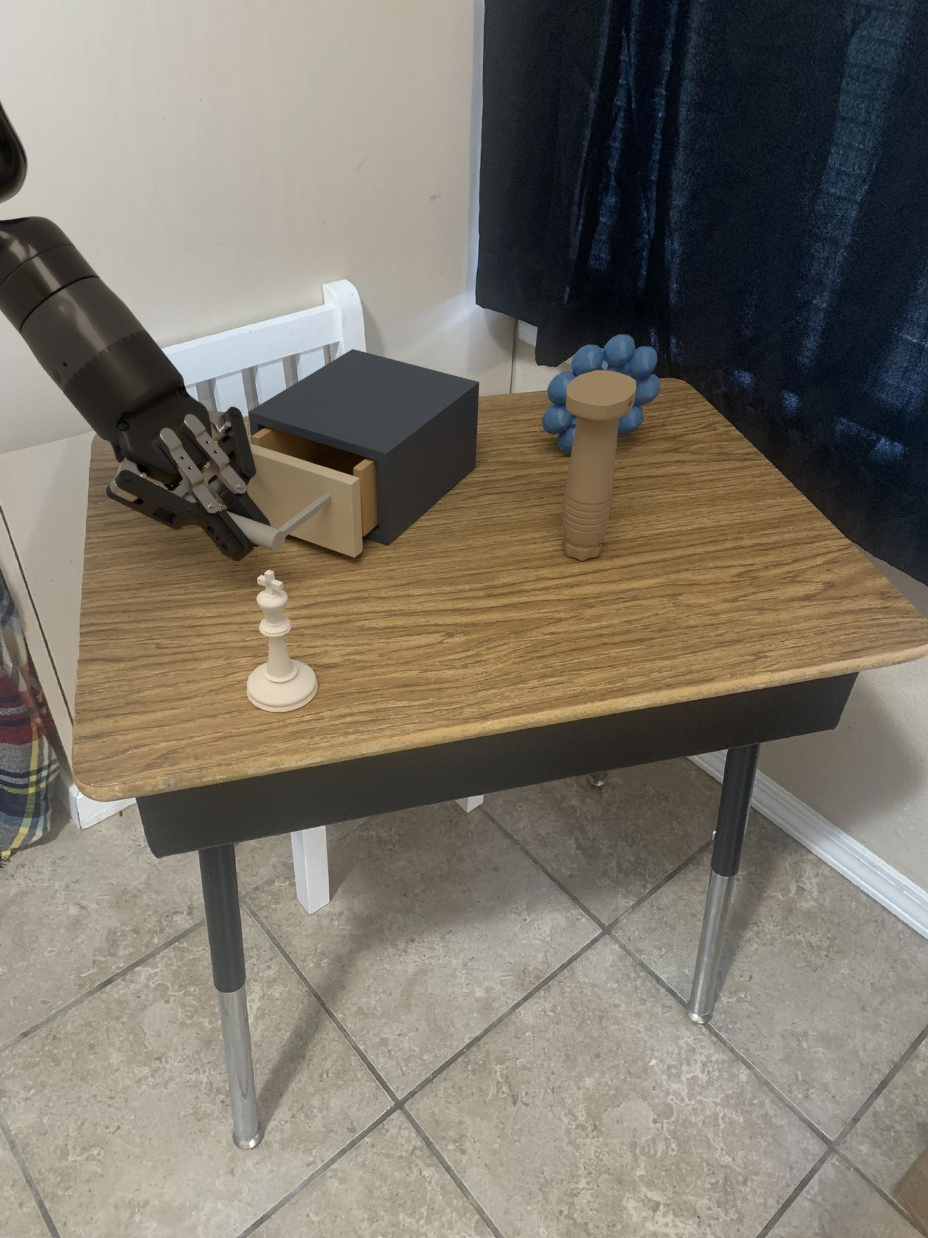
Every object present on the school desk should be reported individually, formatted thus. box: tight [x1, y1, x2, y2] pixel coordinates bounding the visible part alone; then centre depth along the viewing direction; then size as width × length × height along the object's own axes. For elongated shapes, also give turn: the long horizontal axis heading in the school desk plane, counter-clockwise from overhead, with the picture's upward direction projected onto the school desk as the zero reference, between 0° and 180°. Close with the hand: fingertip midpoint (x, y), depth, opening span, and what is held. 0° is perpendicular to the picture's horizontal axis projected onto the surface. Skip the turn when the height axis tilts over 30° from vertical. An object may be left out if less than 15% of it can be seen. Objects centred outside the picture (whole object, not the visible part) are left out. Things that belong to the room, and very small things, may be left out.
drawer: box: [213, 427, 379, 558], centre depth 82 cm, size 22×13×7 cm, turn 151°
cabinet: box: [247, 348, 480, 546], centre depth 88 cm, size 16×14×9 cm
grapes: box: [541, 333, 661, 454], centre depth 94 cm, size 12×7×12 cm, turn 103°
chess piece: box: [246, 569, 319, 713], centre depth 66 cm, size 5×5×10 cm
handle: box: [562, 370, 636, 562], centre depth 79 cm, size 5×6×15 cm
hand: (255, 547), depth 74 cm, fingers closed on drawer
